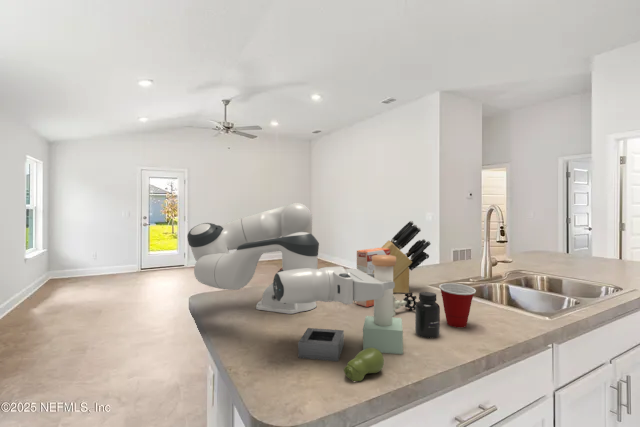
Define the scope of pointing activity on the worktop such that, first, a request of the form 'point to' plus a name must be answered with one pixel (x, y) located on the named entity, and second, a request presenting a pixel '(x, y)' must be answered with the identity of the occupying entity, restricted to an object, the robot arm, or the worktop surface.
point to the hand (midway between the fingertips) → (385, 280)
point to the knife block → (402, 260)
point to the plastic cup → (456, 303)
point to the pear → (364, 364)
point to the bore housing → (321, 344)
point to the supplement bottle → (427, 316)
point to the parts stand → (383, 336)
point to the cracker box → (368, 265)
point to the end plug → (385, 304)
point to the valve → (404, 302)
